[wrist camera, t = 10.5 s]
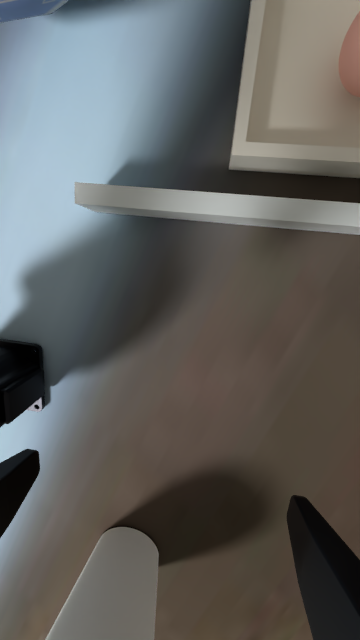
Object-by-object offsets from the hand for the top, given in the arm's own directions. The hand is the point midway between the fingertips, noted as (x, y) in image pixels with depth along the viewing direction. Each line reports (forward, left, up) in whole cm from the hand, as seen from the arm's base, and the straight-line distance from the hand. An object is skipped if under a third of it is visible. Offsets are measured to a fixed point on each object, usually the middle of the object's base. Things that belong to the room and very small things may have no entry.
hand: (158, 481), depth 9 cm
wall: (+2, +11, -12) cm, 16 cm away
